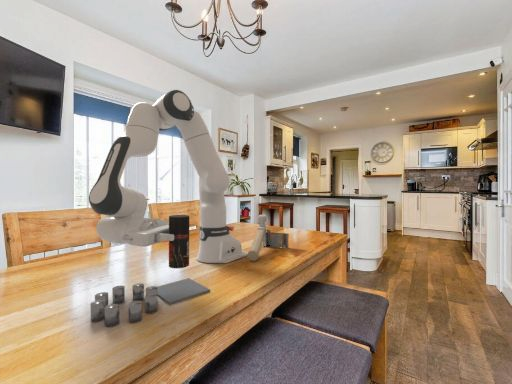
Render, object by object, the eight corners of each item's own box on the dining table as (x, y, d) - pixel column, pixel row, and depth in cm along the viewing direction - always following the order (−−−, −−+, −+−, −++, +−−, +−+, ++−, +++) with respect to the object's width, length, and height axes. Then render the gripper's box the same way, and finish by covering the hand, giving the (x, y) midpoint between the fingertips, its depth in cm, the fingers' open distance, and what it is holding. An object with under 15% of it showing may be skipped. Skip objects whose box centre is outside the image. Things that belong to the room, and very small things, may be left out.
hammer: (258, 239, 109) (267, 214, 137) (246, 239, 110) (258, 214, 138) (258, 273, 113) (267, 242, 142) (247, 273, 114) (258, 241, 142)
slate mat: (188, 279, 91) (188, 278, 91) (210, 291, 81) (210, 289, 81) (150, 290, 82) (150, 288, 82) (169, 304, 72) (169, 302, 72)
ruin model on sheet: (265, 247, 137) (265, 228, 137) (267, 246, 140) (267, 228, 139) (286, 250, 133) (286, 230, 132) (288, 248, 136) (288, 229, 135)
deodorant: (188, 267, 79) (188, 217, 78) (167, 268, 77) (167, 217, 77) (189, 261, 85) (189, 214, 84) (169, 262, 83) (170, 214, 83)
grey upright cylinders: (146, 292, 80) (145, 279, 80) (169, 311, 69) (169, 295, 68) (83, 309, 69) (83, 294, 69) (99, 335, 58) (99, 317, 58)
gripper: (117, 227, 74) (159, 230, 70) (163, 218, 94) (198, 220, 90) (117, 249, 75) (159, 254, 71) (163, 235, 94) (198, 238, 90)
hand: (181, 235), depth 80 cm, fingers closed on deodorant, 6 cm apart
